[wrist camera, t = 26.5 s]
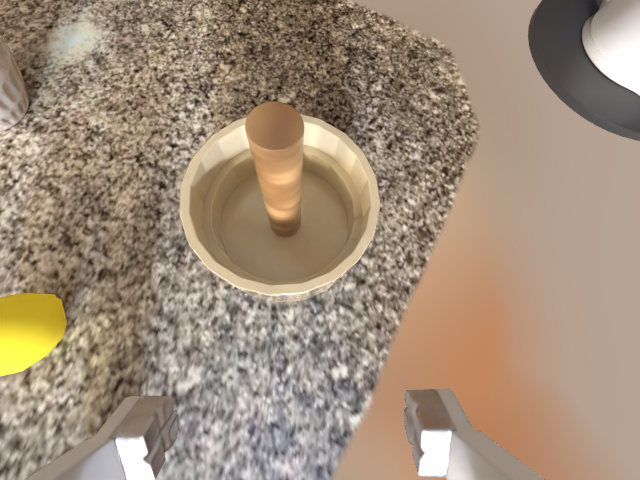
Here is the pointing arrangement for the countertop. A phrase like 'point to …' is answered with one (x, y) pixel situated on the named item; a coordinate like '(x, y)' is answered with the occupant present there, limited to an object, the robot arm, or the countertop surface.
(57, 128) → the countertop surface
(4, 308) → the lemon
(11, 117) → the vase
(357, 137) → the countertop surface
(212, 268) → the bowl
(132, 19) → the countertop surface
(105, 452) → the robot arm
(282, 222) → the stick
